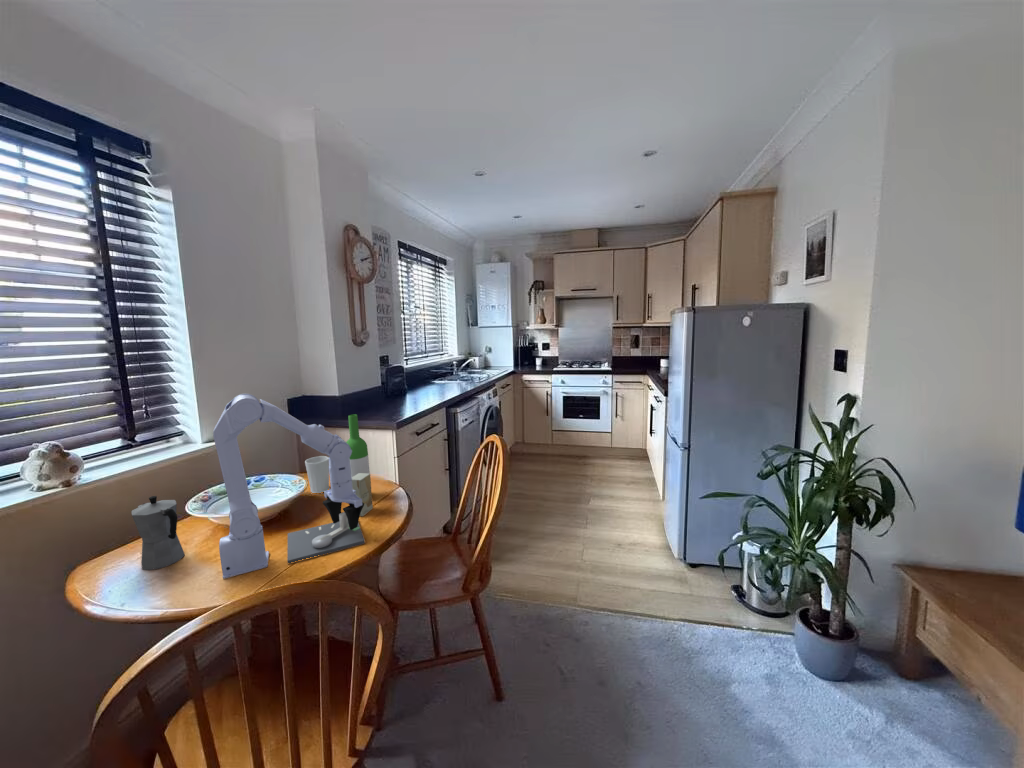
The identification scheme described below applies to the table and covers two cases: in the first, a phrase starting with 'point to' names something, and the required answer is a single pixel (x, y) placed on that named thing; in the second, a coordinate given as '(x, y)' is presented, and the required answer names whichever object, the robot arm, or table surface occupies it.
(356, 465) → the wine bottle
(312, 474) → the cup
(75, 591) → the table surface
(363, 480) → the skincare box
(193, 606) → the table surface
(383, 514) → the table surface
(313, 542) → the tuning lever
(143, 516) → the coffeepot
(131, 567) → the table surface
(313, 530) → the gauge board
